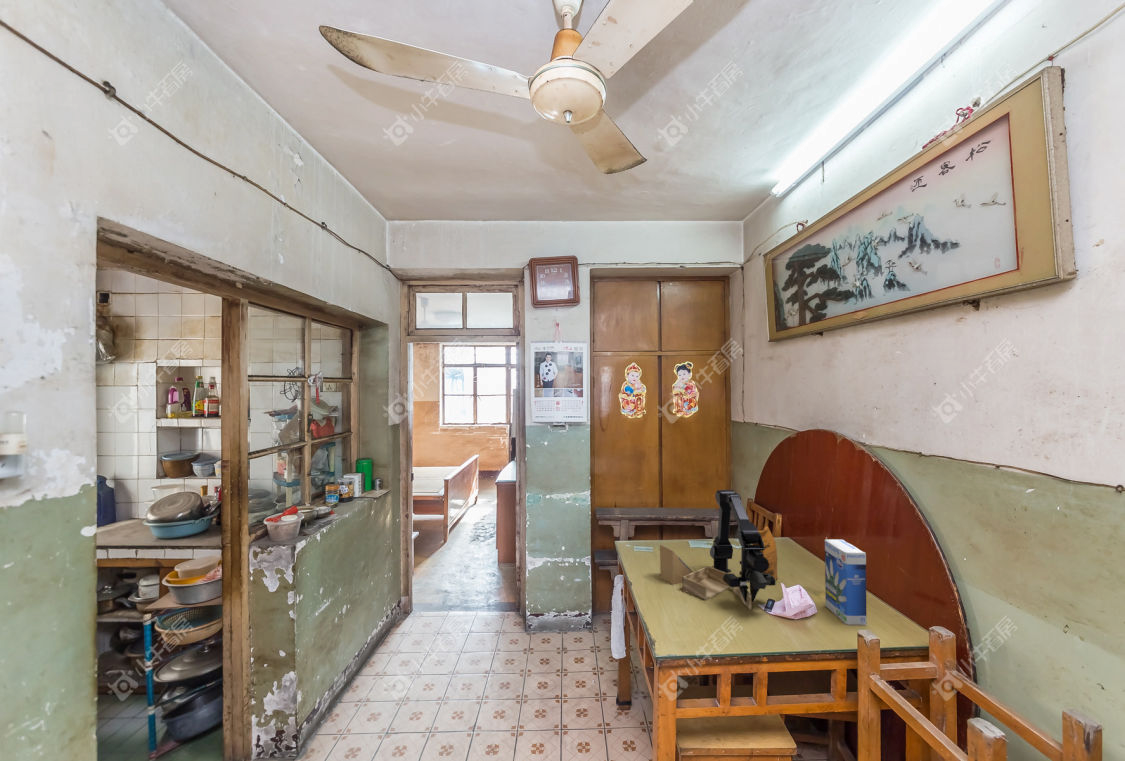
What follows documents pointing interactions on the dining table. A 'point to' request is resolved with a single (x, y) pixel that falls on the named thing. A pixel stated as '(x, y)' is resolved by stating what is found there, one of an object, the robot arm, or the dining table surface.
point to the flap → (738, 592)
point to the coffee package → (769, 551)
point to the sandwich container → (672, 566)
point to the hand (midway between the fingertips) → (748, 601)
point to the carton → (705, 583)
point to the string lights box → (845, 581)
